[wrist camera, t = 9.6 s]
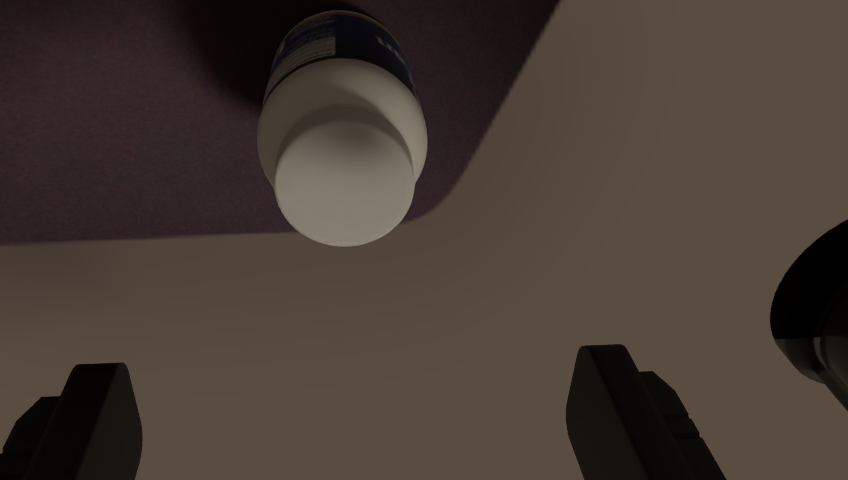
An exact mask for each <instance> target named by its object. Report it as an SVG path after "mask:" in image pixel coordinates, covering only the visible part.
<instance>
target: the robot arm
mask: <svg viewBox="0 0 848 480" xmlns="http://www.w3.org/2000/svg"><path fill="white" fill-rule="evenodd" d="M808 340H809V345H810V348H811V350H812V352H813V354H814V355H815V356H816V358H817V360H816V364H815V366H814V368H813V371H814V372H815V373H816V374H817V376H818V377H819V378H820V379H821V380H822V382H823V383H824V384H825V385H826V386H827V387H828V389H829V390H830V391H831V392H832V393H833V395H834V396H835V397H836V398H837V399H838V400H839V402H840V403H841V404H842V405H843V406H844V407H845V409H846V410H847V411H848V269H847V270H846V271H845V272H844V273H843V274H841V275H840V276H839V277H838V278H837V279H836V280H835V281H834V282H833V283H832V284H831V285H830V286H829V288H828V289H827V290H826V291H825V293H824V294H823V295H822V297H821V298H820V300H819V301H818V303H817V305H816V307H815V309H814V311H813V313H812V316H811V319H810V323H809V328H808ZM566 424H567V430H568V435H569V439H570V441H571V444H572V447H573V450H574V453H575V455H576V458H577V461H578V463H579V466H580V469H581V471H582V474H583V477H584V480H726V478H725V476H724V475H723V473H722V471H721V470H720V468H719V466H718V464H717V463H716V461H715V459H714V457H713V456H712V454H711V452H710V450H709V449H708V447H707V445H706V444H705V442H704V440H703V439H702V438H700V436H699V431H698V430H697V428H696V426H695V424H694V423H693V421H692V419H689V417H688V412H687V411H686V409H685V407H684V405H683V404H682V402H681V400H680V399H679V397H678V395H677V393H676V392H675V390H673V389H672V388H671V387H670V386H669V385H668V384H667V383H666V382H664V381H663V380H662V379H661V378H660V377H659V376H657V375H656V374H655V373H654V372H653V371H648V372H647V371H646V372H639V371H638V369H637V367H636V365H635V363H634V362H633V360H632V358H631V356H630V354H629V352H628V351H627V349H626V348H625V346H623V345H621V344H615V345H590V346H581V348H580V349H579V351H578V354H577V358H576V363H575V368H574V372H573V377H572V381H571V386H570V391H569V396H568V400H567V406H566ZM141 452H142V426H141V421H140V417H139V413H138V409H137V404H136V401H135V396H134V392H133V388H132V384H131V379H130V375H129V371H128V369H127V366H126V365H125V364H124V363H101V364H79V365H76V366H75V367H74V368H73V370H72V371H71V373H70V376H69V378H68V380H67V383H66V384H65V387H64V389H63V391H62V393H61V395H60V396H54V397H41V398H40V399H39V400H38V401H37V402H36V403H35V404H34V405H33V406H32V407H31V408H30V409H28V411H26V412H25V413H24V414H23V415H22V416H21V417H20V418H19V419H18V420H17V421H16V423H15V425H14V427H13V429H12V431H11V433H10V435H9V437H8V439H7V441H6V443H5V445H4V447H3V453H2V454H0V480H135V477H136V473H137V470H138V466H139V463H140V457H141Z"/></svg>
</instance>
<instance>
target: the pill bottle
mask: <svg viewBox="0 0 848 480" xmlns="http://www.w3.org/2000/svg"><path fill="white" fill-rule="evenodd" d="M257 148H258V155H259V159H260V163H261V166H262V168H263V171H264V173H265V175H266V177H267V179H268V180H269V182H270V183H271V185H272V186H273V188H274V192H275V197H276V200H277V203H278V206H279V208H280V210H281V212H282V213H283V215H284V217H285V218H286V219H287V220H288V222H289V223H290V224H291V225H292V226H293V227H294V228H295V229H296V230H298V231H299V232H300V233H301V234H303V235H305V236H306V237H308V238H310V239H312V240H315V241H317V242H320V243H323V244H327V245H333V246H347V247H348V246H356V245H362V244H366V243H369V242H371V241H374V240H376V239H378V238H380V237H382V236H384V235H385V234H387V233H388V232H390V231H391V230H392V229H393V228H394V227H395V226H397V225H398V224H399V222H400V221H401V220H402V219H403V217H404V216H405V214H406V213H407V211H408V209H409V207H410V205H411V202H412V199H413V195H414V189H415V183H416V181H417V180H418V178H419V176H420V174H421V171H422V169H423V166H424V163H425V159H426V153H427V130H426V124H425V120H424V115H423V111H422V108H421V105H420V102H419V98H418V94H417V91H416V88H415V85H414V81H413V78H412V75H411V71H410V68H409V65H408V61H407V59H406V56H405V54H404V52H403V50H402V48H401V46H400V45H399V43H398V42H397V40H396V39H395V38H394V36H393V35H392V34H391V33H390V32H389V31H388V30H387V29H386V28H385V27H384V26H383V25H381V24H380V23H379V22H377V21H376V20H374V19H372V18H370V17H368V16H366V15H363V14H360V13H357V12H352V11H345V10H332V11H326V12H322V13H318V14H316V15H313V16H311V17H308V18H307V19H305V20H303V21H302V22H300V23H299V24H297V25H296V26H295V27H294V28H293V29H291V31H290V32H289V33H288V34H287V35H286V36H285V38H284V39H283V41H282V42H281V44H280V46H279V48H278V50H277V52H276V55H275V57H274V60H273V64H272V68H271V72H270V76H269V80H268V84H267V88H266V92H265V96H264V101H263V105H262V108H261V114H260V117H259V122H258V131H257Z"/></svg>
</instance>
